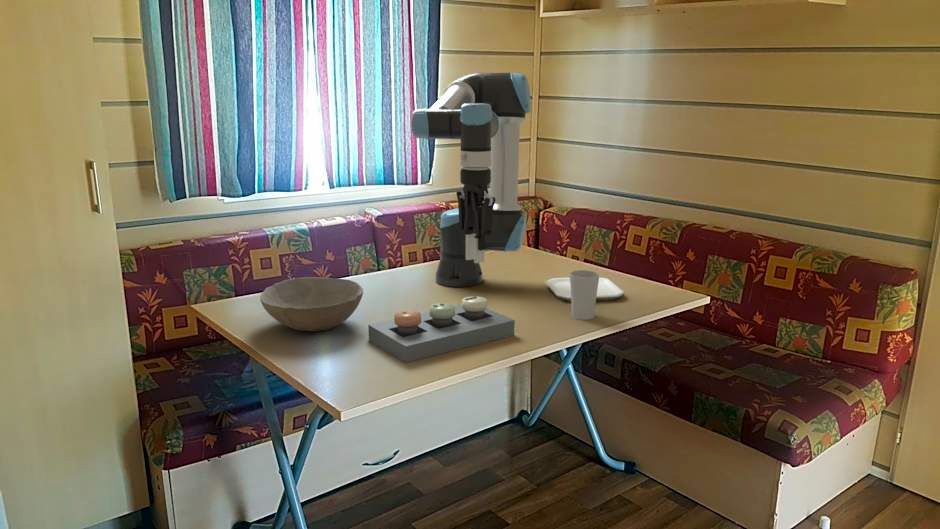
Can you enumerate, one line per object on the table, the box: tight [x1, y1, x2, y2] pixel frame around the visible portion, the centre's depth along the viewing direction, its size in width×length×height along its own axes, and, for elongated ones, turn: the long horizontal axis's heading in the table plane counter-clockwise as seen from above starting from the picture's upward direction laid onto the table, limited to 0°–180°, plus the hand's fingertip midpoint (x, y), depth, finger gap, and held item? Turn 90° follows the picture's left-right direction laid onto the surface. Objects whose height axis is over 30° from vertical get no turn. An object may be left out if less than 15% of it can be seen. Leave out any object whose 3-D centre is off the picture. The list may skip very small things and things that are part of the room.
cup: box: [569, 269, 600, 321], centre depth 199 cm, size 8×8×12 cm
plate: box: [544, 276, 625, 302], centre depth 222 cm, size 21×21×2 cm
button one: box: [393, 309, 422, 337], centre depth 176 cm, size 6×6×5 cm
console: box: [367, 304, 516, 363], centre depth 183 cm, size 18×32×4 cm, turn 126°
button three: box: [461, 296, 488, 321], centre depth 187 cm, size 6×6×5 cm
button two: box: [428, 302, 456, 329], centre depth 182 cm, size 6×6×5 cm
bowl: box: [259, 276, 364, 332], centre depth 189 cm, size 26×26×10 cm
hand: (474, 260), depth 184 cm, fingers open, 3 cm apart
